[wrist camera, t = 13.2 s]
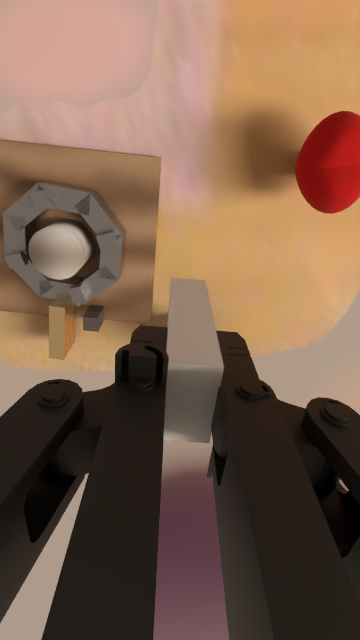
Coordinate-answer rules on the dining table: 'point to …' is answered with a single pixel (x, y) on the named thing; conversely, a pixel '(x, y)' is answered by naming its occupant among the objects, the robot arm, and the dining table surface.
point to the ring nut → (72, 289)
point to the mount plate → (120, 197)
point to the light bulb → (331, 163)
